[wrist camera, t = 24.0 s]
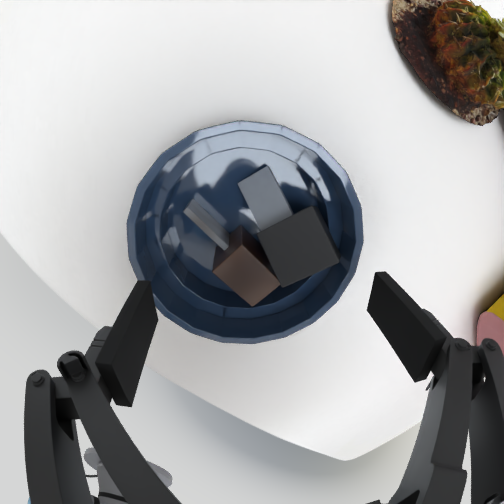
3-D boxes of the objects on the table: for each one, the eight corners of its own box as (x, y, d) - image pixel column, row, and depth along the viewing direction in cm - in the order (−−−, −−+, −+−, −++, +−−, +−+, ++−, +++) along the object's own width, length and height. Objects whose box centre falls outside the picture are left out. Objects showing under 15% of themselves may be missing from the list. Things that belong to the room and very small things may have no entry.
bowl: (216, 327, 26) (213, 369, 21) (116, 195, 20) (85, 213, 15) (360, 251, 24) (388, 281, 19) (280, 91, 18) (296, 77, 13)
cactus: (496, 34, 14) (551, 29, 5) (498, 145, 20) (561, 163, 11) (385, -39, 12) (435, -77, 3) (384, 86, 18) (463, 73, 9)
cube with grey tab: (290, 279, 21) (341, 256, 20) (281, 288, 18) (339, 262, 17) (245, 185, 21) (292, 159, 20) (230, 181, 19) (283, 150, 17)
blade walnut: (274, 257, 23) (282, 283, 19) (249, 279, 24) (252, 307, 20) (203, 187, 20) (196, 200, 16) (178, 213, 21) (166, 231, 17)
